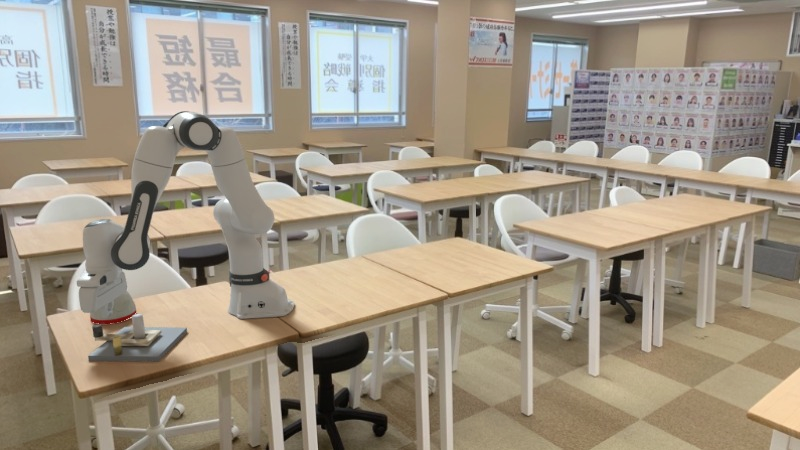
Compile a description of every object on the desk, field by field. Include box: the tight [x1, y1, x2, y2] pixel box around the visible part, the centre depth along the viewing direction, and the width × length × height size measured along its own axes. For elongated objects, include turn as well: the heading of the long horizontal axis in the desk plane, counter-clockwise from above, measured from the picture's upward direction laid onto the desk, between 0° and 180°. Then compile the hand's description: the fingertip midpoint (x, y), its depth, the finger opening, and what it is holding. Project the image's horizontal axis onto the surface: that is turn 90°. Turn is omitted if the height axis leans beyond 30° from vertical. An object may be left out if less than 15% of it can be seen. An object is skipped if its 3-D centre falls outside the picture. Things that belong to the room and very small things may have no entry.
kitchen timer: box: [89, 290, 137, 325], centre depth 185 cm, size 14×14×15 cm
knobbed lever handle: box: [91, 324, 162, 346], centre depth 164 cm, size 18×9×4 cm, turn 88°
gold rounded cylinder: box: [113, 336, 123, 356], centre depth 156 cm, size 2×2×5 cm
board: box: [87, 313, 188, 362], centre depth 164 cm, size 20×20×10 cm
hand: (107, 315), depth 170 cm, fingers closed
